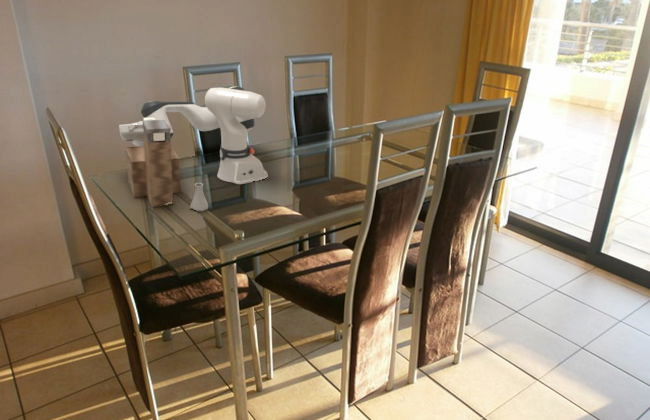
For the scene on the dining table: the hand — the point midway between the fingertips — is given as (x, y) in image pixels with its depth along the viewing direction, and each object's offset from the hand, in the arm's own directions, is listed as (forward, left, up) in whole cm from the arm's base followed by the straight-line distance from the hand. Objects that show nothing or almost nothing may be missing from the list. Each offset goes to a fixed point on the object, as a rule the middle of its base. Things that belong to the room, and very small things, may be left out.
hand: (147, 125), depth 205 cm
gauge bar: (0, +11, +1) cm, 11 cm away
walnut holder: (0, +9, -25) cm, 27 cm away
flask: (-13, +27, -25) cm, 40 cm away
